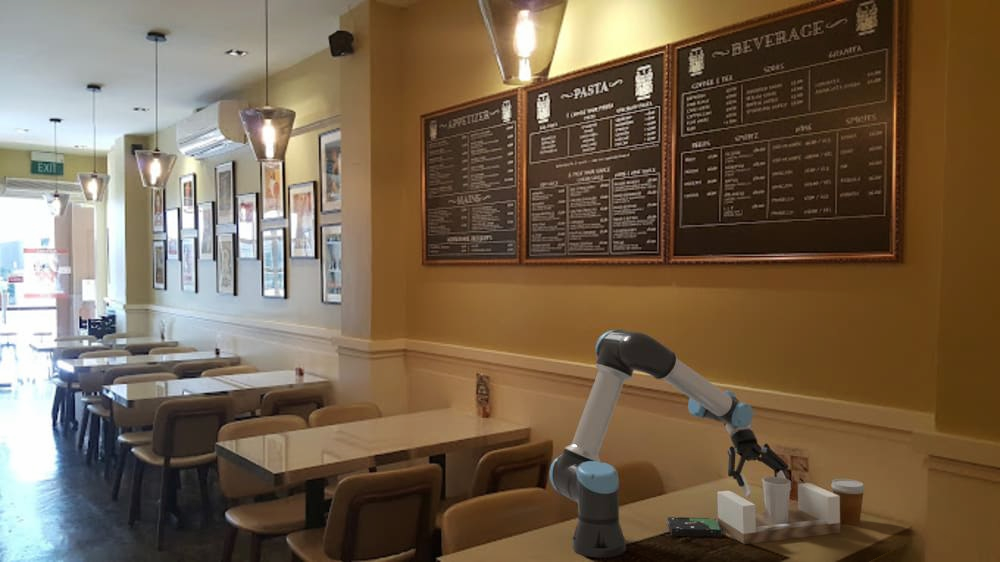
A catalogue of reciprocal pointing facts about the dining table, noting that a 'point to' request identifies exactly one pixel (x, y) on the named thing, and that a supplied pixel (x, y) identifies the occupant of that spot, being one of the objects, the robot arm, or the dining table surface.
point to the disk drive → (694, 527)
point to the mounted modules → (809, 501)
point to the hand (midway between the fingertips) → (769, 493)
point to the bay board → (783, 528)
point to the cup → (776, 499)
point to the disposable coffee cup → (849, 499)
